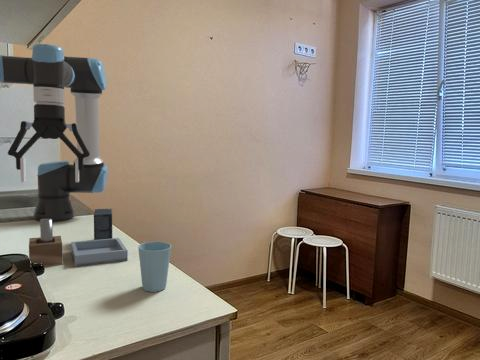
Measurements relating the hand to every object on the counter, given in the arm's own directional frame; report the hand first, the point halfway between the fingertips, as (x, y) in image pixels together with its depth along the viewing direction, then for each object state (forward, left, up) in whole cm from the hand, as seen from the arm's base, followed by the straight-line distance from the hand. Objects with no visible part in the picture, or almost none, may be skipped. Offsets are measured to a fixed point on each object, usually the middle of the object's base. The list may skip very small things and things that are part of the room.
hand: (51, 181), depth 108 cm
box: (-13, +16, -23) cm, 30 cm away
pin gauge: (+2, -1, -22) cm, 22 cm away
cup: (+31, +21, -23) cm, 44 cm away
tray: (+2, +12, -22) cm, 26 cm away
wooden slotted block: (+2, -2, -22) cm, 22 cm away
